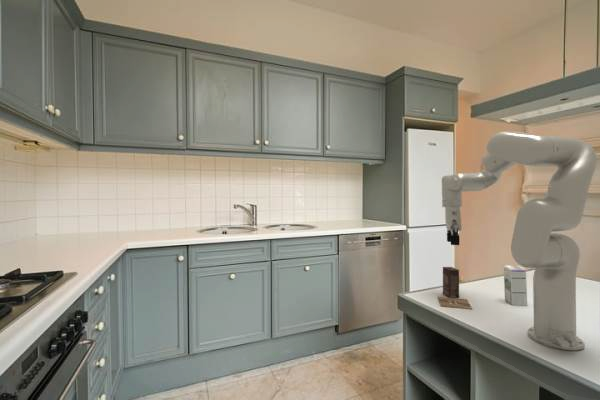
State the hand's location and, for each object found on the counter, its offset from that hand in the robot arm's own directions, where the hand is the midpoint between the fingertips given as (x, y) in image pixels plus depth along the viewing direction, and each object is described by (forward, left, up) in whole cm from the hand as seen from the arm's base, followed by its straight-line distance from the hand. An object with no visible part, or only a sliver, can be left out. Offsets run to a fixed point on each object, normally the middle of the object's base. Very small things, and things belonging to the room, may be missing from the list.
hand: (453, 243), depth 125 cm
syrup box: (-2, -22, -23) cm, 32 cm away
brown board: (-9, +1, -23) cm, 25 cm away
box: (0, +1, -23) cm, 23 cm away
